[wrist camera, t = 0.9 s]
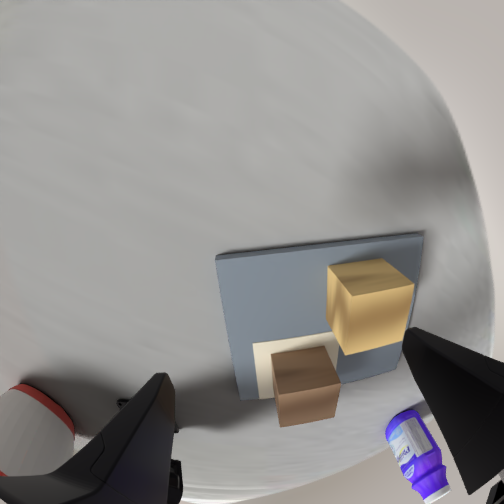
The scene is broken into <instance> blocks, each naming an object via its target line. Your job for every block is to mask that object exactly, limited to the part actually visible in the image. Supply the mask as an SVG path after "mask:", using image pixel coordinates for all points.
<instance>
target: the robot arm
mask: <svg viewBox="0 0 504 504" xmlns="http://www.w3.org/2000/svg"><path fill="white" fill-rule="evenodd" d="M402 351H403V353H404V356H405V358H406V360H407V363H408V365H409V367H410V370H411V372H412V375H413V377H414V379H415V381H416V383H417V385H418V387H419V389H420V391H421V393H422V394H423V396H424V398H425V400H426V402H427V404H428V406H429V408H430V410H431V412H432V414H433V416H434V418H435V419H436V421H437V423H438V426H439V428H440V430H441V432H442V434H443V436H444V438H445V440H446V442H447V445H448V447H449V449H450V451H451V453H452V456H453V457H454V461H455V463H456V465H457V467H458V470H459V473H460V475H461V477H462V480H463V482H464V485H465V488H466V490H467V493H468V495H471V494H472V493H473V492H475V491H476V490H478V489H479V488H480V487H482V486H483V485H484V484H486V483H487V482H488V481H489V480H491V479H492V478H493V477H494V476H496V475H497V474H499V476H500V477H501V480H500V481H499V482H497V484H495V485H494V486H493V487H492V488H491V490H490V493H489V496H488V499H487V502H486V504H504V363H503V362H500V361H497V360H495V359H492V358H490V357H487V356H484V355H482V354H480V353H477V352H475V351H472V350H470V349H468V348H465V347H463V346H460V345H458V344H455V343H453V342H451V341H448V340H446V339H443V338H441V337H438V336H436V335H434V334H431V333H429V332H426V331H424V330H422V329H419V328H417V327H412V328H409V329H407V330H406V331H405V334H404V338H403V343H402ZM117 405H118V407H119V408H120V411H119V412H118V413H117V414H116V415H115V416H114V417H113V418H112V420H111V421H110V422H109V423H108V424H107V425H106V426H105V427H104V428H103V429H102V430H101V432H99V433H98V434H97V435H96V436H95V437H94V438H93V439H92V440H91V441H90V442H89V443H88V444H87V445H86V446H85V447H83V448H82V449H81V450H80V451H79V452H78V453H76V454H75V455H74V456H73V457H71V458H70V459H69V460H68V461H66V462H65V463H64V464H63V465H61V466H60V467H59V468H58V469H56V470H55V471H53V472H51V473H48V474H44V475H32V476H0V499H2V500H3V501H4V502H6V503H7V504H179V502H180V500H181V498H182V493H183V481H182V470H181V461H179V460H173V459H171V453H172V445H173V437H174V433H178V432H179V428H178V427H177V425H176V423H175V389H174V386H173V384H172V382H171V380H170V378H169V376H168V374H167V373H156V374H154V375H153V377H152V378H151V379H150V380H149V381H148V382H147V383H146V384H145V385H144V386H143V387H142V388H141V389H140V390H139V391H138V392H137V393H136V394H135V395H134V397H133V398H132V399H131V400H117Z"/></svg>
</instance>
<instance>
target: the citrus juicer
mask: <svg viewBox="0 0 504 504" xmlns="http://www.w3.org/2000/svg"><path fill="white" fill-rule="evenodd" d="M74 440H75V434H74V425H73V422H72V420H71V419H70V417H69V416H68V415H67V414H66V413H65V412H64V410H63V408H62V407H61V406H59V405H58V404H56V403H55V402H54V401H52V400H51V399H50V398H49V397H47V396H46V395H44V394H43V393H41V392H40V391H38V390H37V389H35V388H33V387H31V386H28V385H25V384H19V385H16V386H14V387H12V388H10V389H9V390H8V391H7V392H6V393H4V394H3V395H1V396H0V476H32V475H44V474H48V473H51V472H53V471H55V470H56V469H58V468H59V467H60V466H61V465H63V464H64V463H65V462H66V461H68V460H69V459H70V458H71V457H73V451H74Z"/></svg>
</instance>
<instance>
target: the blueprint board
mask: <svg viewBox="0 0 504 504" xmlns="http://www.w3.org/2000/svg"><path fill="white" fill-rule="evenodd" d="M423 237H424V236H422V235H420V234H418V233H414V234H405V235H396V236H387V237H378V238H369V239H360V240H351V241H342V242H333V243H324V244H315V245H306V246H297V247H288V248H279V249H270V250H261V251H252V252H243V253H234V254H226V255H217V256H216V258H215V263H216V269H217V275H218V282H219V288H220V294H221V300H222V306H223V312H224V318H225V323H226V329H227V334H228V340H229V345H230V351H231V356H232V361H233V366H234V371H235V376H236V381H237V386H238V391H239V396H240V401H242V400H252V399H267V398H275V396H274V391H273V379H272V365H271V354H275V353H282V352H289V351H295V350H301V349H307V348H313V347H319V346H325V348H326V350H327V352H328V355H329V357H330V359H331V361H332V364H333V366H334V368H335V370H336V373H337V375H338V377H339V379H340V382H341V384H345V383H349V382H353V381H357V380H361V379H365V378H368V377H372V376H375V375H379V374H382V373H385V372H388V371H392V370H395V369H396V367H397V364H398V361H399V358H400V354H401V351H402V343H403V340H402V341H399V342H396V343H392V344H389V345H385V346H381V347H378V348H374V349H370V350H366V351H362V352H358V353H354V354H349V355H345V354H344V352H343V350H342V348H341V346H340V345H339V343H338V341H337V339H336V337H335V335H334V333H333V331H332V329H331V328H330V326H329V324H328V322H327V320H326V303H327V271H328V266H329V265H337V264H344V263H352V262H359V261H366V260H373V259H380V258H383V259H384V260H385V261H386V262H388V263H389V264H390V265H392V266H393V267H394V268H395V269H397V270H398V271H399V272H400V273H402V274H403V275H404V276H405V277H407V278H408V279H409V280H410V281H412V282H413V283H414V290H413V296H412V301H411V306H410V310H409V315H408V319H407V324H406V328H405V331H406V330H407V329H408V325H409V321H410V316H411V312H412V307H413V303H414V298H415V292H416V287H417V281H418V275H419V269H420V262H421V254H422V246H423ZM404 334H405V332H404ZM403 338H404V336H403Z"/></svg>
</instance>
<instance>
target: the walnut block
mask: <svg viewBox="0 0 504 504" xmlns="http://www.w3.org/2000/svg"><path fill="white" fill-rule="evenodd" d="M271 365H272V379H273V391H274V396H275V402H276V407H277V413H278V418H279V424H280V427H286V426H292V425H298V424H304V423H309V422H314V421H319V420H323V419H328V418H332V417H334V416H335V411H336V407H337V402H338V397H339V392H340V387H341V382H340V379H339V377H338V375H337V373H336V370H335V368H334V366H333V364H332V361H331V359H330V357H329V355H328V352H327V350H326V348H325V346H319V347H313V348H307V349H301V350H295V351H289V352H282V353H275V354H271Z"/></svg>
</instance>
